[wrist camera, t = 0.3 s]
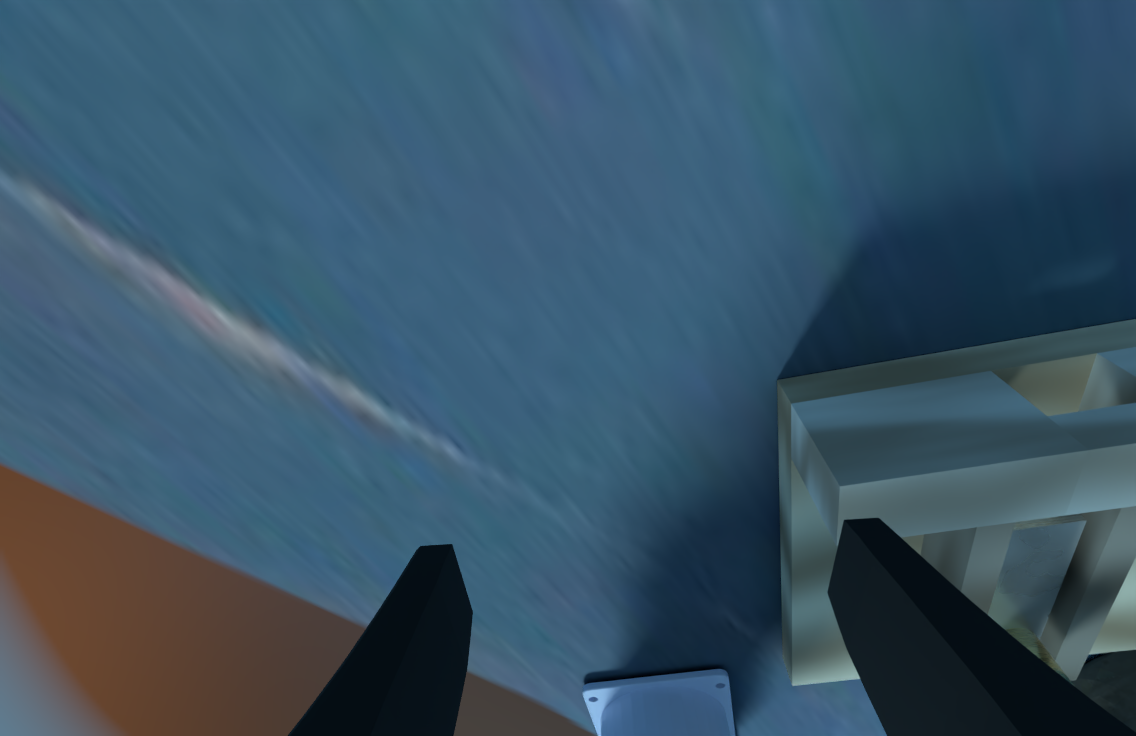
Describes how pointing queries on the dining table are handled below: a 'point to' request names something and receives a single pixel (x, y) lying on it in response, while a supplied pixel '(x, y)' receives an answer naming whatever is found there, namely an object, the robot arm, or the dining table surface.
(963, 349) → the door board
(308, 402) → the dining table surface
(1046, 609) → the bolt
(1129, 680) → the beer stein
